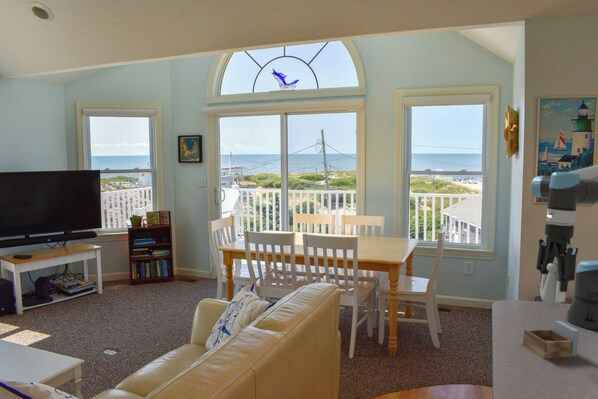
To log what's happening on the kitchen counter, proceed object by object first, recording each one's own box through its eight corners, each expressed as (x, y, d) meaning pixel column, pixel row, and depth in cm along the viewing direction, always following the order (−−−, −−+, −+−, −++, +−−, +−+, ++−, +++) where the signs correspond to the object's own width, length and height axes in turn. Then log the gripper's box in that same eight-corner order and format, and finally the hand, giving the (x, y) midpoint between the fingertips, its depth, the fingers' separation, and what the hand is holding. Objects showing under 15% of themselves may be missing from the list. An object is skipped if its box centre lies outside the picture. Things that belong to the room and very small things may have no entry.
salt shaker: (564, 309, 137) (569, 267, 135) (543, 307, 138) (548, 265, 136) (557, 303, 142) (562, 262, 141) (537, 301, 144) (542, 260, 142)
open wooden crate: (549, 343, 147) (550, 329, 147) (571, 357, 138) (573, 341, 137) (522, 344, 146) (524, 329, 145) (543, 358, 136) (545, 342, 136)
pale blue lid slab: (557, 344, 147) (559, 320, 146) (576, 355, 139) (579, 330, 138) (551, 344, 147) (554, 320, 146) (570, 356, 139) (573, 330, 138)
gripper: (528, 218, 146) (521, 288, 148) (572, 228, 128) (563, 308, 130) (548, 218, 147) (541, 288, 150) (596, 229, 129) (586, 308, 131)
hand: (551, 297), depth 140 cm, fingers closed on salt shaker, 6 cm apart
